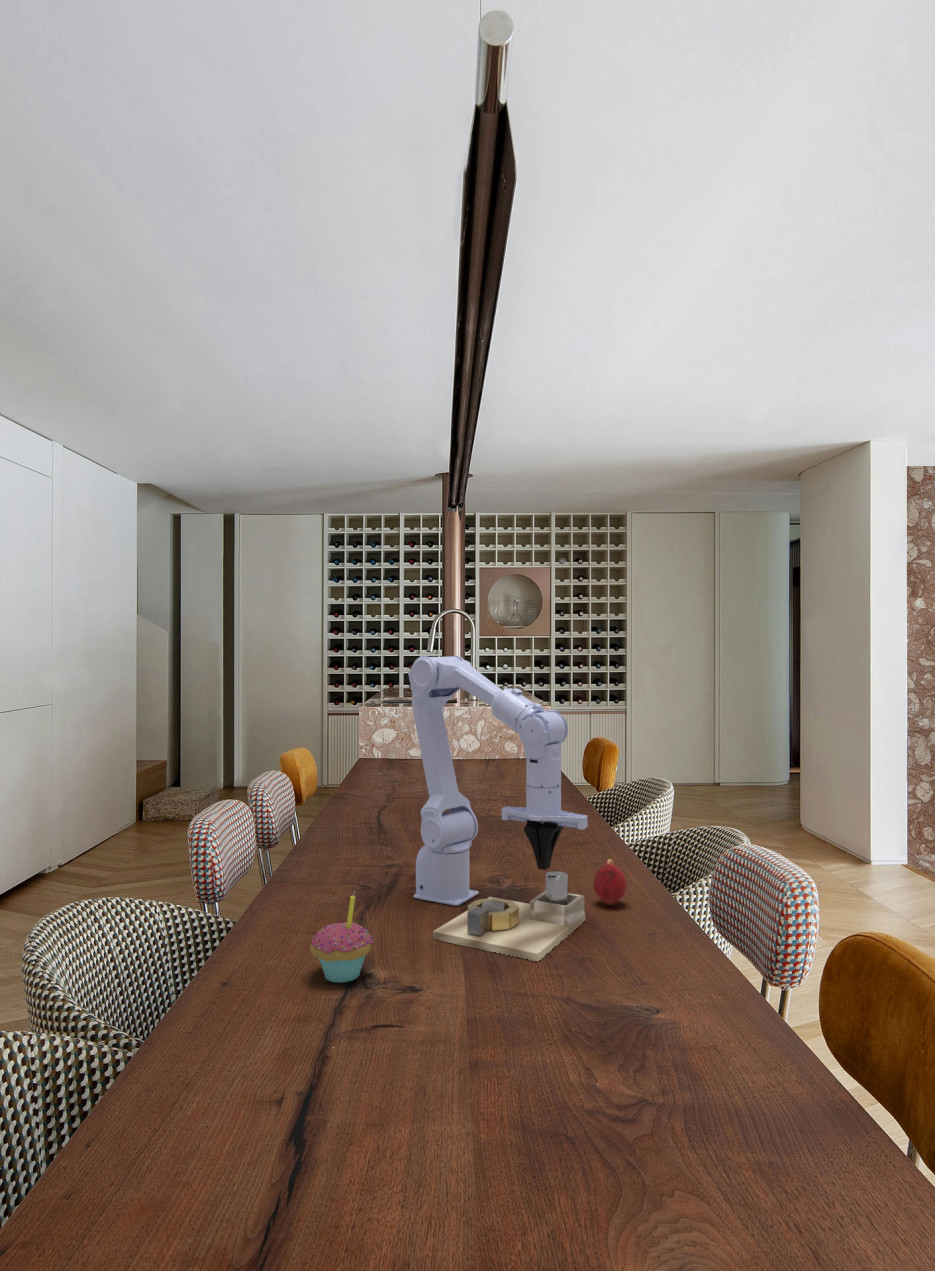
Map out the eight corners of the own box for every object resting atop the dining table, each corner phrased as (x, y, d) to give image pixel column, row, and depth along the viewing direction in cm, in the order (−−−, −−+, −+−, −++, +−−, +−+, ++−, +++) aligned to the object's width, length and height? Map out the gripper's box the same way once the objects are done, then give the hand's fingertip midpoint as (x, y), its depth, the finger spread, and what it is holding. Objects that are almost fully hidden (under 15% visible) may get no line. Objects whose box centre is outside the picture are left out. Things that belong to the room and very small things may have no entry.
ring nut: (452, 930, 120) (451, 909, 120) (483, 910, 129) (483, 890, 129) (496, 939, 116) (496, 918, 116) (525, 917, 125) (525, 898, 125)
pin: (541, 917, 126) (541, 874, 126) (555, 911, 129) (555, 870, 129) (557, 922, 123) (557, 879, 124) (572, 917, 126) (572, 874, 126)
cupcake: (382, 968, 109) (382, 883, 110) (355, 993, 101) (354, 902, 102) (329, 960, 112) (329, 877, 112) (298, 984, 104) (298, 895, 104)
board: (432, 939, 120) (432, 912, 120) (489, 903, 136) (489, 879, 137) (538, 962, 111) (537, 932, 111) (585, 920, 128) (585, 895, 128)
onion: (626, 911, 132) (626, 865, 132) (592, 909, 133) (592, 863, 133) (626, 900, 138) (626, 856, 138) (594, 898, 139) (593, 854, 139)
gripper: (493, 785, 126) (493, 867, 126) (576, 793, 119) (576, 881, 119) (511, 778, 132) (512, 857, 132) (591, 785, 125) (592, 869, 125)
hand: (543, 867), depth 126 cm, fingers closed
